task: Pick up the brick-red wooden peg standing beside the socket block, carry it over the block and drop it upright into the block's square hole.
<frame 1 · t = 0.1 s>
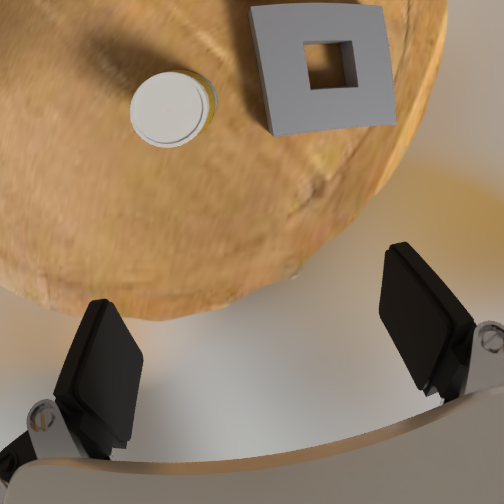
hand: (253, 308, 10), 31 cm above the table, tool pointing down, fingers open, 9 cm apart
socket block: (321, 65, 32), on the table
bottle: (188, 100, 33), on the table
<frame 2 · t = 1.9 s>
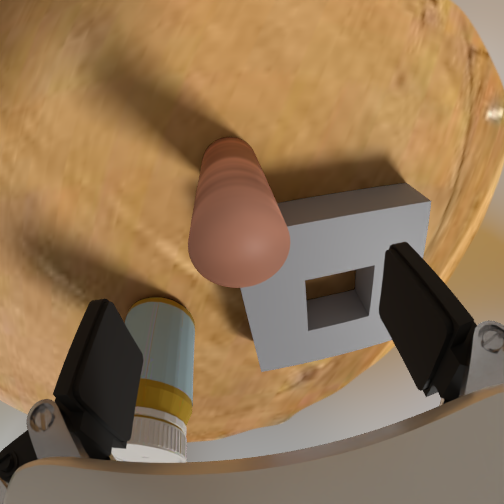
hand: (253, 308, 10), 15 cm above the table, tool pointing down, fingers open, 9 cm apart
peg: (229, 162, 22), on the table
socket block: (327, 272, 28), on the table
bottle: (161, 317, 30), on the table
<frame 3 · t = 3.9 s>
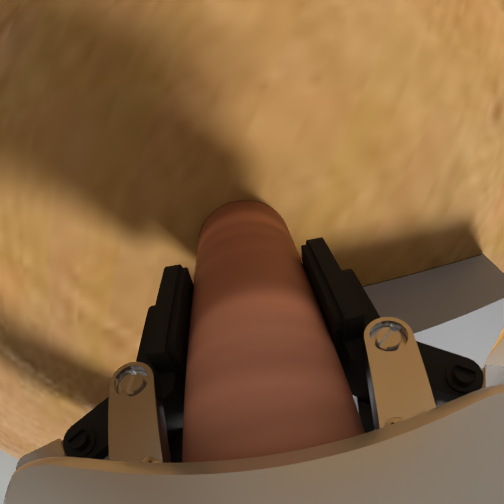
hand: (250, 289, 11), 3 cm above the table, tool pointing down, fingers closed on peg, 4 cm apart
peg: (244, 242, 14), on the table, touching gripper
socket block: (369, 367, 20), on the table
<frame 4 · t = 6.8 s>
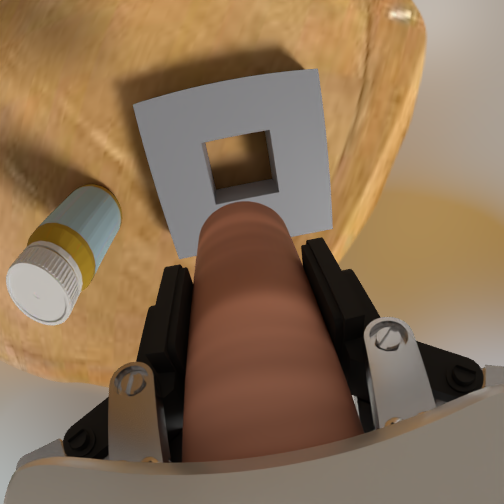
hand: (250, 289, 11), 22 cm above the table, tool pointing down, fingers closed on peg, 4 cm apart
peg: (244, 243, 13), point 19 cm above the table, touching gripper
socket block: (238, 157, 30), on the table
bottle: (96, 210, 31), on the table
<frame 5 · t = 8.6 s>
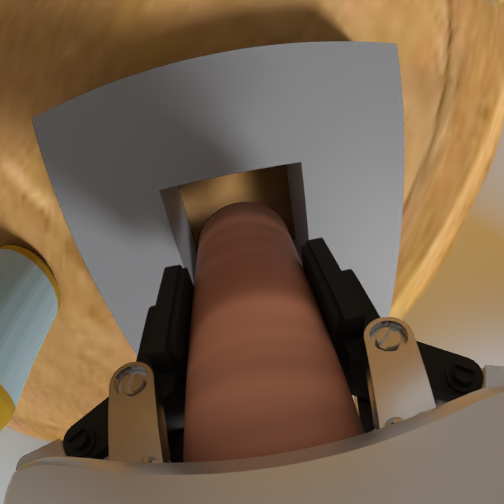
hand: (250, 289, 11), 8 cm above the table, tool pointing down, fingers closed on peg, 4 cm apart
peg: (244, 244, 14), point 4 cm above the table, touching gripper
socket block: (237, 203, 17), on the table
bottle: (27, 278, 18), on the table
when the fingers open (5 cm above the table, at t = 9.9 s): peg drops 1 cm, resting in socket block.
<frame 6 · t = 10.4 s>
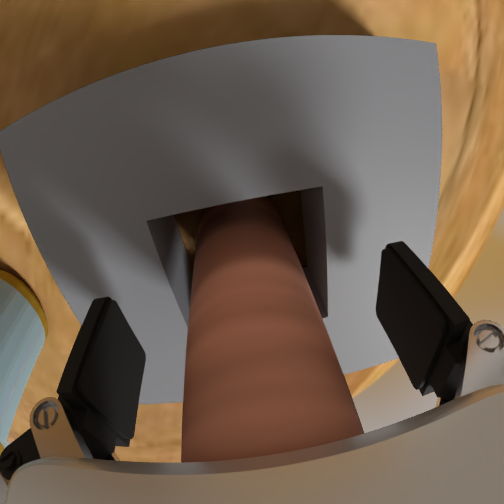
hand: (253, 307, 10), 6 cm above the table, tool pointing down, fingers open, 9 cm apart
peg: (240, 228, 15), resting in socket block
socket block: (242, 227, 15), on the table
bottle: (13, 302, 16), on the table
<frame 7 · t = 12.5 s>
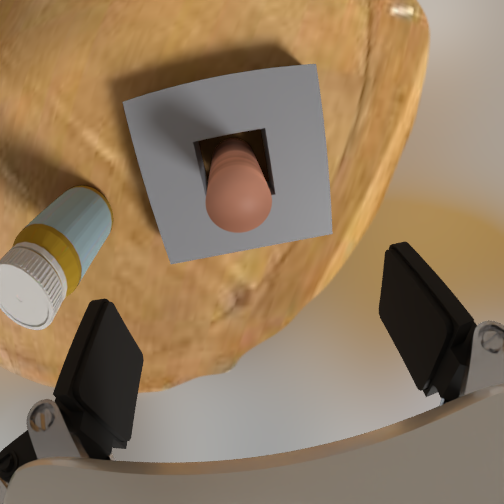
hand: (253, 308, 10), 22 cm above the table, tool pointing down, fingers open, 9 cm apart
peg: (233, 158, 28), resting in socket block
socket block: (234, 157, 28), on the table
bottle: (87, 212, 30), on the table
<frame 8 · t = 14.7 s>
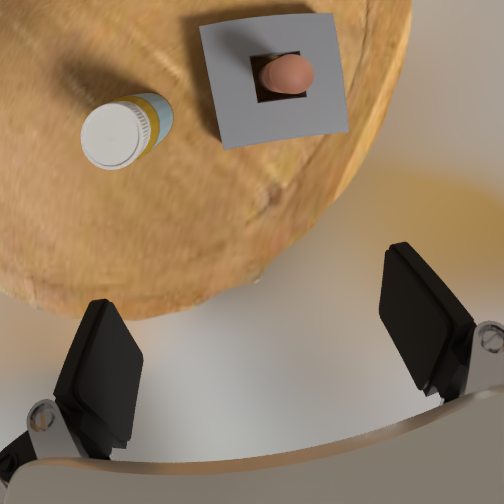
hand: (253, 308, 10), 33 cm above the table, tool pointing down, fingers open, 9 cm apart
peg: (272, 77, 34), resting in socket block
socket block: (273, 77, 34), on the table
bottle: (149, 117, 36), on the table
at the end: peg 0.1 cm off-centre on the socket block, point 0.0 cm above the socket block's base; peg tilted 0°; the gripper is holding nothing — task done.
